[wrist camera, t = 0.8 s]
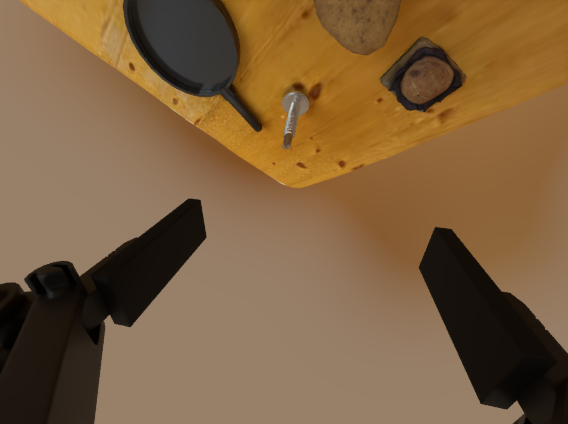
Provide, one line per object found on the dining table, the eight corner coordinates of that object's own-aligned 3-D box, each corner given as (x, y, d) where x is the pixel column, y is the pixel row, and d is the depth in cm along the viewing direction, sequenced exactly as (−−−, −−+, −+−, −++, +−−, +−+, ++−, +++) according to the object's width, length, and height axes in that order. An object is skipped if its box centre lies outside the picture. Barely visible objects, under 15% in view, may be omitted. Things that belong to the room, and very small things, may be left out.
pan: (111, 19, 37) (104, 25, 36) (167, -76, 27) (160, -71, 26) (199, 104, 48) (196, 111, 47) (261, 59, 38) (259, 66, 37)
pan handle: (219, 87, 43) (216, 93, 42) (227, 81, 42) (224, 87, 41) (257, 129, 50) (255, 134, 49) (265, 125, 49) (263, 131, 48)
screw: (279, 99, 44) (293, 78, 40) (299, 113, 46) (315, 95, 42) (265, 149, 37) (281, 131, 34) (290, 163, 39) (307, 147, 36)
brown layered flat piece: (376, 80, 38) (376, 94, 36) (426, 30, 31) (430, 44, 30) (418, 114, 42) (420, 128, 40) (470, 76, 35) (476, 91, 34)
